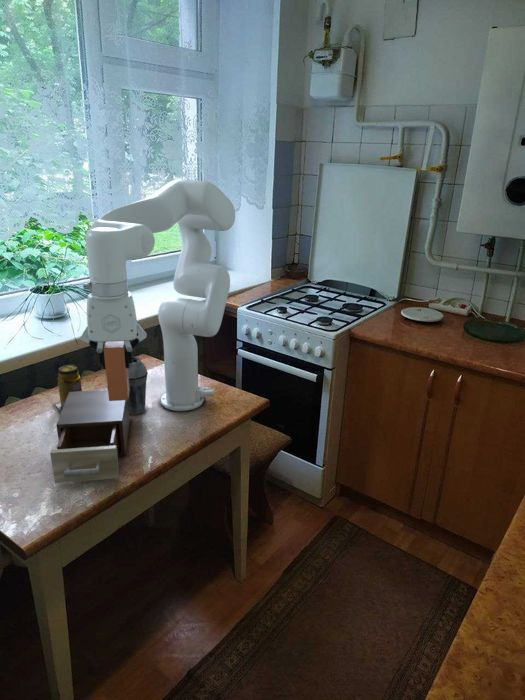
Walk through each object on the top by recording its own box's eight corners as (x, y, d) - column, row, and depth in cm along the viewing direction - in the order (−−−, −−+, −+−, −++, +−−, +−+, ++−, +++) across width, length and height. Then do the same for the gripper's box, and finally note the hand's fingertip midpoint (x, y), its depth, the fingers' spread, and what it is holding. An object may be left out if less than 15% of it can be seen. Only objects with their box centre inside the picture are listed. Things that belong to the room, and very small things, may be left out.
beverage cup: (154, 407, 143) (151, 342, 136) (141, 418, 137) (136, 352, 129) (132, 402, 146) (128, 339, 138) (118, 413, 139) (112, 348, 132)
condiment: (80, 398, 147) (75, 361, 142) (91, 409, 141) (86, 371, 136) (55, 405, 143) (49, 367, 138) (65, 417, 137) (59, 378, 132)
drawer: (117, 491, 107) (114, 460, 104) (50, 496, 104) (45, 465, 101) (124, 440, 125) (121, 413, 122) (67, 444, 123) (63, 416, 120)
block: (129, 390, 117) (125, 339, 112) (128, 400, 113) (123, 347, 108) (111, 391, 116) (106, 339, 111) (109, 401, 112) (103, 348, 107)
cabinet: (125, 455, 121) (122, 420, 117) (61, 460, 118) (56, 424, 114) (129, 420, 136) (127, 388, 132) (73, 424, 133) (69, 391, 130)
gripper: (64, 293, 100) (75, 375, 107) (149, 292, 103) (154, 371, 110) (71, 284, 107) (80, 361, 114) (150, 282, 109) (155, 358, 117)
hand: (116, 365), depth 112 cm, fingers closed on block, 4 cm apart
